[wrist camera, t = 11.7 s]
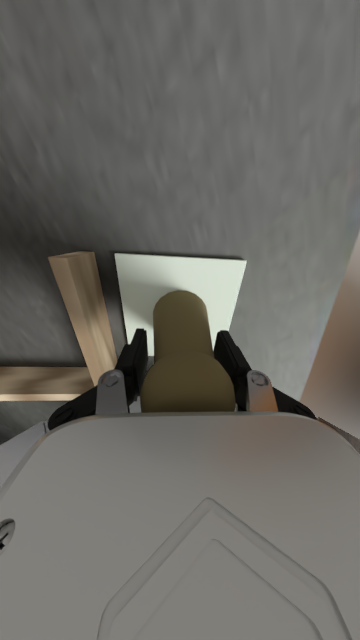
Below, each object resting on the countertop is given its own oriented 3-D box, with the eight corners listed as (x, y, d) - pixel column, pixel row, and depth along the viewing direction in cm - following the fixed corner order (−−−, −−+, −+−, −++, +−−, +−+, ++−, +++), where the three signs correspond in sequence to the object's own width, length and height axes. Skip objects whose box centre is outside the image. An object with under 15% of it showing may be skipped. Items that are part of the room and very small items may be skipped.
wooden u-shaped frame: (93, 251, 13) (66, 258, 10) (120, 373, 21) (109, 400, 18) (-132, 239, 12) (-251, 242, 9) (-15, 372, 20) (-54, 401, 17)
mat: (244, 259, 14) (246, 261, 14) (220, 353, 20) (221, 356, 20) (116, 253, 14) (114, 253, 13) (131, 352, 20) (130, 355, 19)
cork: (142, 304, 15) (93, 416, 6) (196, 280, 14) (240, 370, 5) (167, 344, 18) (162, 464, 9) (214, 327, 17) (264, 441, 8)
